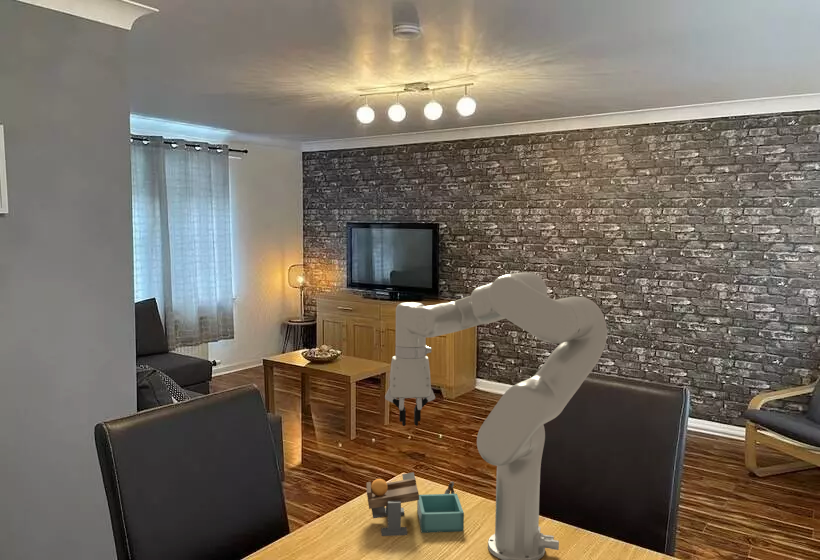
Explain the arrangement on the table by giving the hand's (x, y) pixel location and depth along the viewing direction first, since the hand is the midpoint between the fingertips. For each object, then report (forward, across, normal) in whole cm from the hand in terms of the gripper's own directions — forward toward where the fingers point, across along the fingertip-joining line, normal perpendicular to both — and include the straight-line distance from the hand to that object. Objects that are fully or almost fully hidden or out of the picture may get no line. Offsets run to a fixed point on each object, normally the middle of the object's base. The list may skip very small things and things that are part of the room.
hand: (409, 423), depth 157 cm
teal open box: (+22, -7, +8) cm, 24 cm away
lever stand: (+22, +4, +8) cm, 24 cm away
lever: (+19, +4, +4) cm, 20 cm away
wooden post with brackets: (+23, -10, -3) cm, 25 cm away
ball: (+13, +8, +8) cm, 17 cm away
